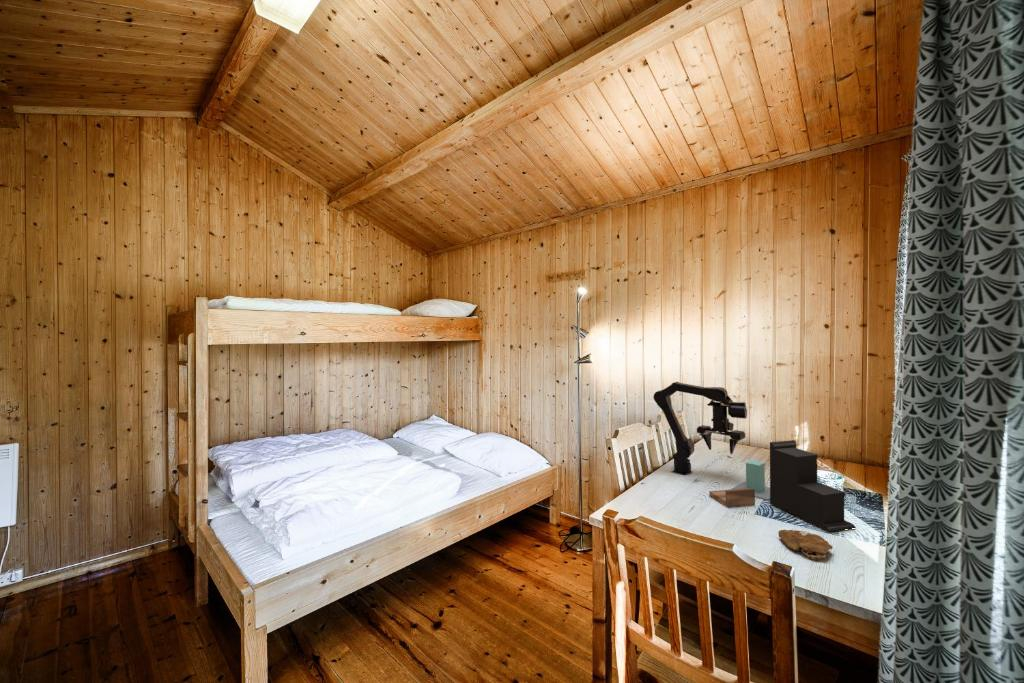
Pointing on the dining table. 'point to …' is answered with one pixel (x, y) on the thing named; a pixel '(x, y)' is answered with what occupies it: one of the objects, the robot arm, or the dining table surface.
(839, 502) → the bookend
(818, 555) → the decorative rock
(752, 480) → the teal block
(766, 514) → the dining table surface
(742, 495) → the walnut ledge
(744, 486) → the slate mat
